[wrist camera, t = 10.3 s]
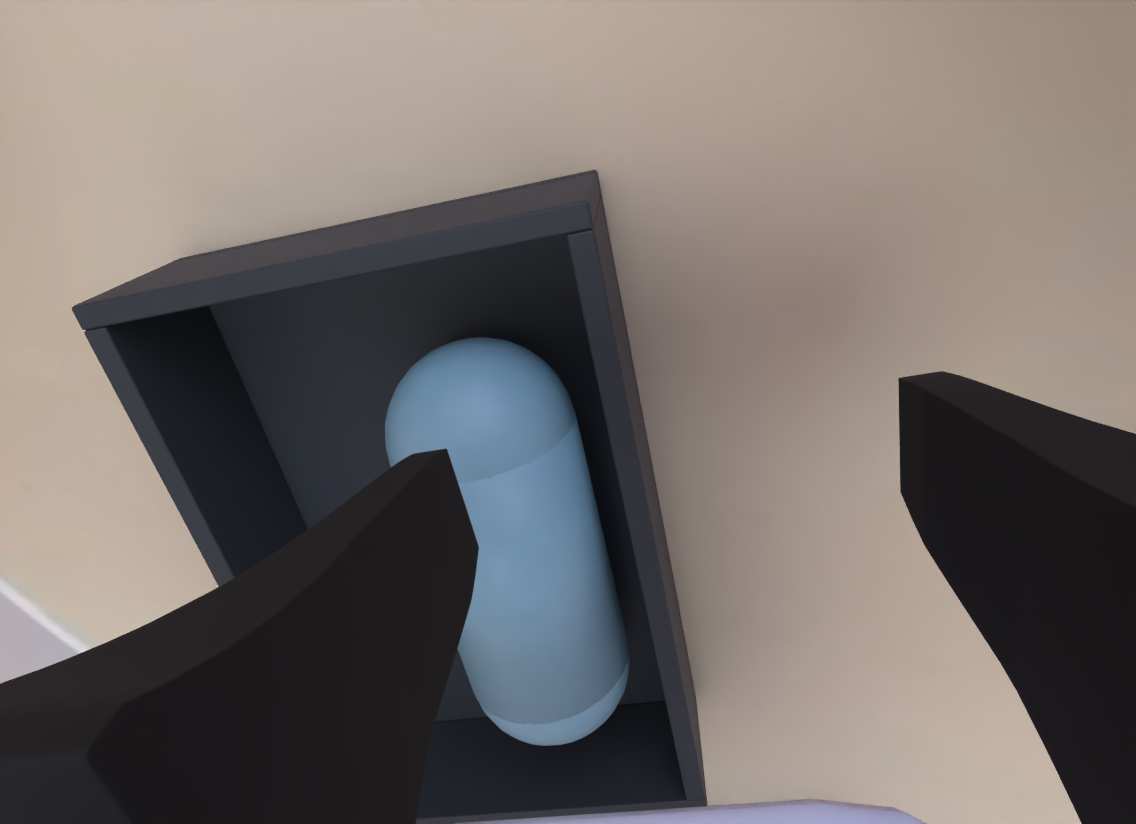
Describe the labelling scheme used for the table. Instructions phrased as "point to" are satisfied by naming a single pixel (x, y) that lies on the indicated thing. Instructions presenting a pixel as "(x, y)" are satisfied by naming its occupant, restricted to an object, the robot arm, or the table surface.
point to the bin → (358, 451)
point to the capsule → (522, 536)
